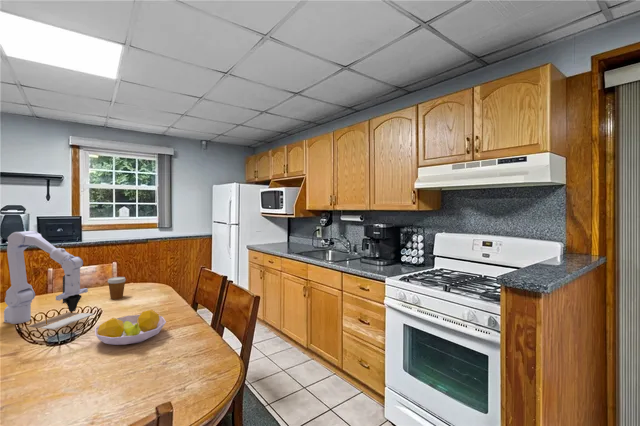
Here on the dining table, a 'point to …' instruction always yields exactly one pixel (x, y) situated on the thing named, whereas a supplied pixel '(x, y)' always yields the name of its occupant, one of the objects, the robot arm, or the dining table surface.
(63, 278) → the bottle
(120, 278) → the disposable coffee cup
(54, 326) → the grey plank
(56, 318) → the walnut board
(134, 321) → the fruit bowl
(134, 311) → the dining table surface
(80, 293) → the robot arm
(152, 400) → the dining table surface
